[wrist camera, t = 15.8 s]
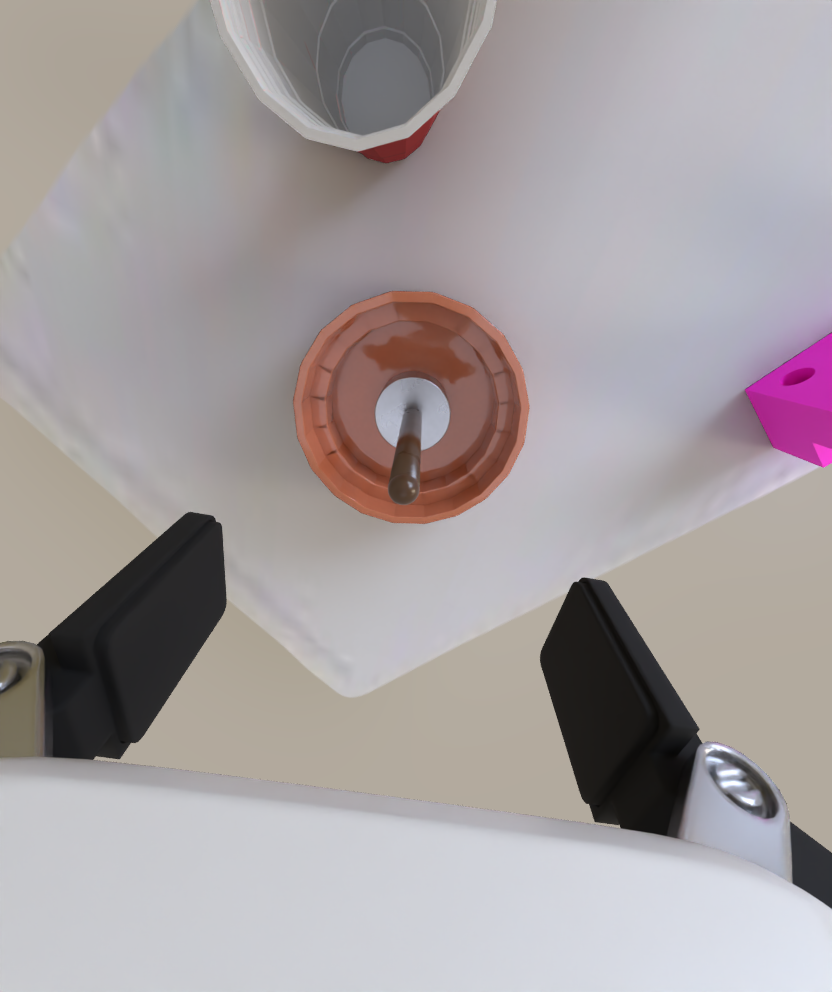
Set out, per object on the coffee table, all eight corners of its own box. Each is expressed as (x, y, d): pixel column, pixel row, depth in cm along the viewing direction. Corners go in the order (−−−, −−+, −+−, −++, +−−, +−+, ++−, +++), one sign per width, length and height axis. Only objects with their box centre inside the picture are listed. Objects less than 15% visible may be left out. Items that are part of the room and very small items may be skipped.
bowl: (271, 380, 31) (244, 392, 26) (441, 242, 26) (444, 228, 22) (391, 526, 36) (386, 556, 32) (548, 431, 32) (568, 451, 28)
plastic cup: (259, 35, 22) (101, -225, 11) (435, -76, 20) (446, -514, 9) (342, 242, 27) (285, 197, 16) (494, 168, 25) (548, 58, 14)
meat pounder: (364, 398, 31) (308, 480, 16) (422, 355, 29) (419, 402, 14) (405, 453, 32) (389, 571, 18) (461, 416, 31) (494, 511, 16)
